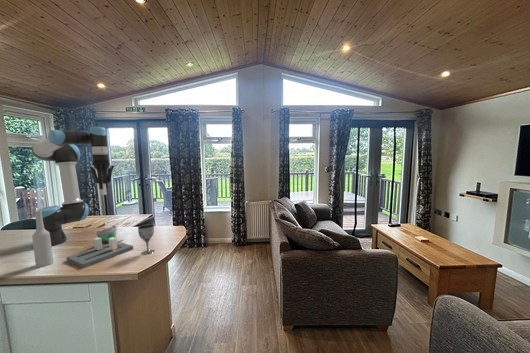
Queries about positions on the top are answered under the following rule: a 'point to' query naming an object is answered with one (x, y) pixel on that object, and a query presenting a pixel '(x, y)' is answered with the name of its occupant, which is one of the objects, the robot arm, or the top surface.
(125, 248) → the console
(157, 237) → the top surface
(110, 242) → the fader
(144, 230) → the wine glass
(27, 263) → the top surface
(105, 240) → the food container
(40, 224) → the bottle
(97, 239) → the fader
